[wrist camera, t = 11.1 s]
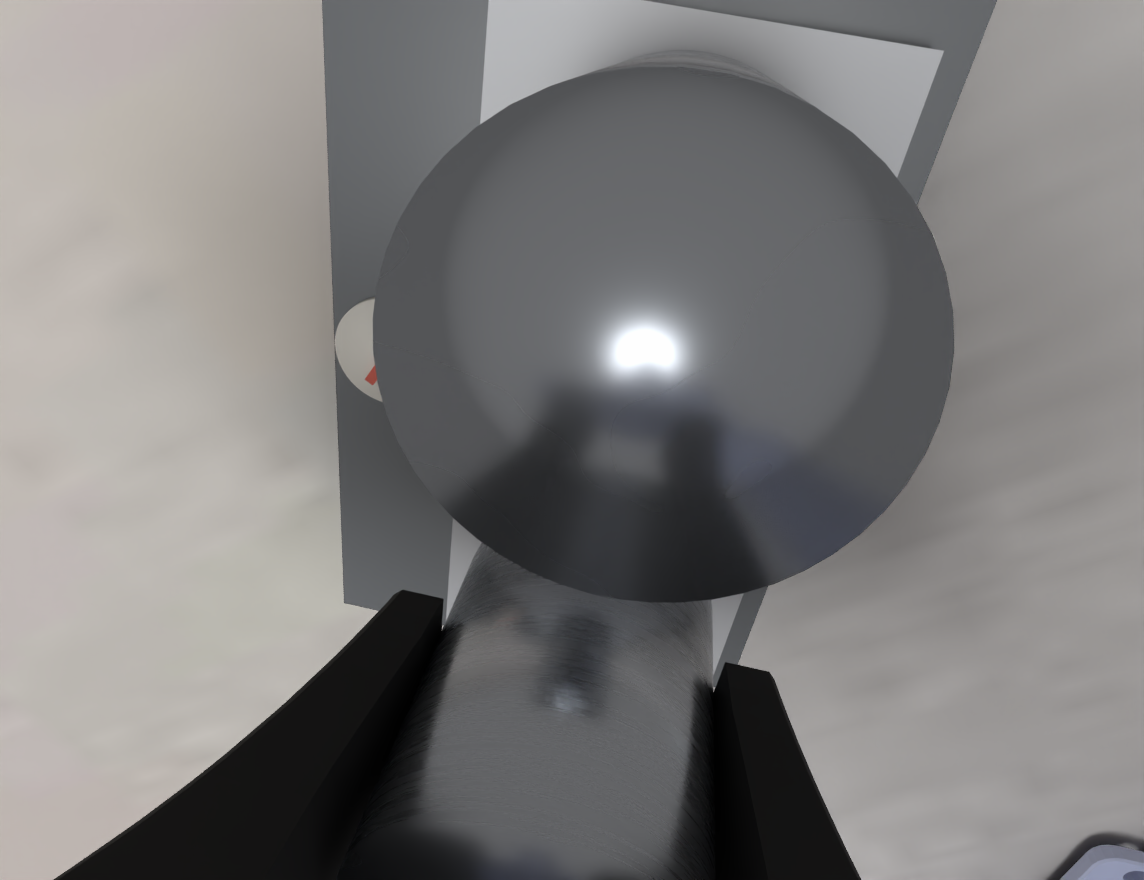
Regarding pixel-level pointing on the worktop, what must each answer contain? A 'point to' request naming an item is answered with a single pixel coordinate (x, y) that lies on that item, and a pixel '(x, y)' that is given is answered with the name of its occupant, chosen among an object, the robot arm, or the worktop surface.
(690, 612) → the cylinder
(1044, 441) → the worktop surface
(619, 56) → the scale
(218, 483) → the worktop surface
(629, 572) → the cylinder
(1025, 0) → the worktop surface
